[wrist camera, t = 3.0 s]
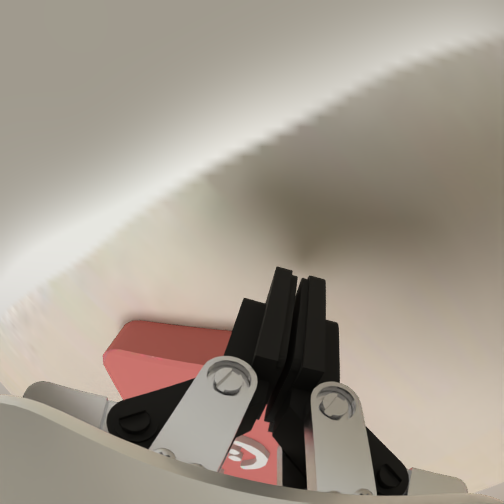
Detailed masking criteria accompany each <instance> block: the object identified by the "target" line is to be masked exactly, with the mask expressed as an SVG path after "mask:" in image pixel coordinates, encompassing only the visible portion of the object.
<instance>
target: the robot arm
mask: <svg viewBox="0 0 504 504" xmlns="http://www.w3.org/2000/svg"><path fill="white" fill-rule="evenodd" d="M297 278H298V277H297V276H294V275H292V270H288V269H284V268H281V267H276V270H275V274H274V277H273V280H272V284H271V287H270V290H269V294H268V297H267V300H266V303H261V302H257V301H254V300H250V299H247V298H244V299H243V302H242V304H241V307H240V310H239V313H238V316H237V319H236V322H235V324H234V327H233V330H232V333H231V336H230V339H229V342H228V344H227V347H226V350H225V353H224V356H219V357H215V358H213V359H211V360H209V361H207V362H206V364H205V365H204V366H203V367H202V369H201V370H200V372H199V373H198V375H197V376H196V378H193V379H190V380H187V381H184V382H181V383H178V384H175V385H172V386H169V387H165V388H162V389H159V390H156V391H152V392H149V393H146V394H142V395H139V396H135V397H132V398H128V399H125V400H122V401H120V402H113V401H109V400H108V398H107V397H104V396H100V395H96V394H91V393H87V392H83V391H79V390H76V389H72V388H68V387H65V386H61V385H58V384H54V383H51V382H45V381H40V382H36V383H34V384H32V385H31V386H29V387H28V388H27V390H26V391H25V393H24V395H23V397H19V396H13V395H5V394H0V504H504V502H503V501H501V500H499V499H496V498H493V497H490V496H487V495H482V494H474V493H468V489H467V487H466V484H465V483H464V482H463V481H462V480H461V479H458V478H456V477H451V476H447V475H442V474H438V473H433V472H429V471H425V470H421V469H417V468H413V467H412V468H411V469H406V467H405V466H404V465H403V463H402V462H401V461H400V460H399V459H398V458H397V457H396V456H395V455H394V454H393V453H392V452H391V451H390V450H389V449H388V448H387V447H386V446H385V445H384V444H383V443H382V442H381V441H380V440H379V439H378V438H377V437H376V436H375V435H374V434H373V433H372V432H371V431H370V430H369V429H368V428H367V427H366V426H365V421H364V416H363V411H362V406H361V403H360V400H359V397H358V396H357V395H356V393H355V392H354V391H353V390H352V389H350V388H349V387H348V386H346V385H344V384H342V383H340V363H339V327H338V323H337V322H333V321H329V320H326V281H325V280H324V279H321V278H317V277H314V276H309V277H308V279H304V278H302V279H301V282H300V285H299V287H298V290H297V293H296V286H297ZM295 294H296V296H295ZM266 405H267V407H266ZM265 407H266V412H265V417H264V421H265V422H269V428H268V432H272V437H273V438H274V439H275V440H276V442H277V443H278V447H277V485H272V484H267V483H262V482H257V481H252V480H248V479H243V478H239V477H235V476H231V475H227V474H223V473H219V472H220V470H221V468H222V466H223V464H224V462H225V460H226V458H227V456H228V454H229V452H230V450H231V448H232V445H233V443H234V441H235V439H236V438H237V437H239V436H241V435H243V434H245V433H248V432H250V431H251V430H252V428H253V426H254V423H255V421H256V419H257V420H259V419H260V417H261V415H262V413H263V411H264V409H265Z"/></svg>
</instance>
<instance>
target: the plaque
mask: <svg viewBox="0 0 504 504" xmlns="http://www.w3.org/2000/svg"><path fill="white" fill-rule="evenodd" d="M231 333H232V331H227V330H216V329H206V328H197V327H188V326H180V325H171V324H164V323H156V322H149V321H142V320H139V321H131V322H129V323H127V324H125V325H124V327H123V328H122V330H121V331H120V332H119V334H118V335H117V336H116V338H115V339H114V340H113V342H112V343H111V345H110V346H109V347H108V349H107V350H106V352H105V353H104V354H103V364H104V366H105V368H106V370H107V372H108V374H109V375H110V377H111V379H112V381H113V383H114V385H115V386H116V388H117V390H118V392H119V393H120V395H121V397H122V399H123V400H125V399H128V398H132V397H135V396H139V395H142V394H146V393H149V392H152V391H156V390H159V389H162V388H165V387H169V386H172V385H175V384H178V383H181V382H184V381H187V380H190V379H193V378H196V376H197V375H198V373H199V372H200V370H201V369H202V367H203V366H204V365H205V364H206V362H207V361H209V360H211V359H213V358H215V357H219V356H224V353H225V350H226V347H227V344H228V342H229V339H230V336H231ZM266 407H267V405H266ZM266 407H265V409H264V411H263V413H262V415H261V417H260V419H259V420H257V419H256V421H255V423H254V426H253V428H252V430H251V431H250V432H248V433H245V434H243V435H241V436H239V437H237V438H236V439H235V441H234V443H233V445H232V448H231V450H230V452H229V454H228V456H227V458H226V460H225V462H224V464H223V466H222V468H221V470H220V472H219V473H223V474H227V475H231V476H235V477H239V478H243V479H248V480H252V481H257V482H262V483H267V484H272V485H277V447H278V443H277V442H276V440H275V439H274V438H273V437H272V432H268V428H269V422H265V421H264V417H265V412H266Z"/></svg>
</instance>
